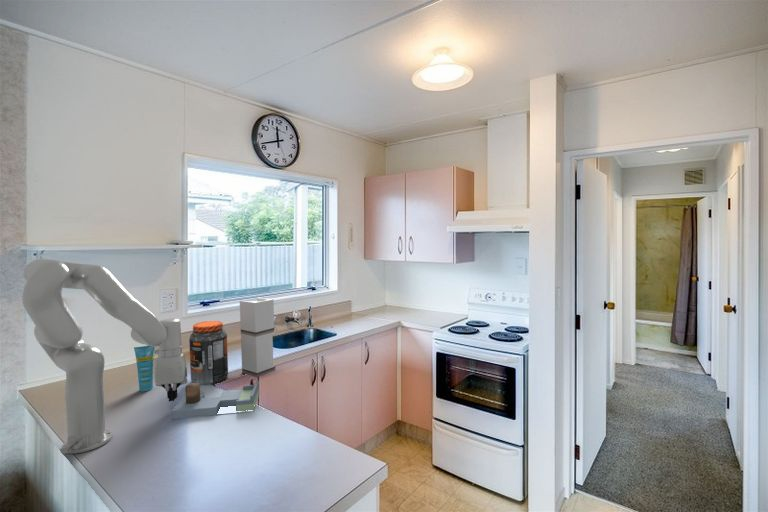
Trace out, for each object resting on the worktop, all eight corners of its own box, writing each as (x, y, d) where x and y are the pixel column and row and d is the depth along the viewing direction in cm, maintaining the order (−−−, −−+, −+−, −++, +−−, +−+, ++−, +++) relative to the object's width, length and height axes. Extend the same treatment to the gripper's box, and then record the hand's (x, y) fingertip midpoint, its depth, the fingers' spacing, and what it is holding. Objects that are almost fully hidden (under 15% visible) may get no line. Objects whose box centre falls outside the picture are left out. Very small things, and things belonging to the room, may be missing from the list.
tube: (136, 393, 159) (133, 348, 158) (136, 389, 163) (133, 345, 162) (156, 389, 163) (154, 345, 162) (156, 385, 167) (154, 342, 166)
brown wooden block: (198, 403, 142) (197, 387, 142) (184, 404, 141) (183, 388, 141) (202, 397, 147) (201, 382, 146) (188, 398, 146) (187, 383, 146)
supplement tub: (187, 378, 175) (184, 323, 174) (222, 370, 185) (220, 318, 184) (196, 388, 163) (193, 329, 162) (233, 379, 173) (231, 323, 172)
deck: (253, 411, 141) (252, 395, 140) (172, 419, 136) (171, 402, 135) (259, 395, 156) (258, 380, 155) (186, 401, 150) (185, 386, 150)
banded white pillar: (275, 370, 184) (273, 299, 182) (257, 377, 175) (254, 302, 173) (260, 366, 190) (258, 297, 188) (242, 372, 182) (239, 300, 180)
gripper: (144, 356, 136) (146, 406, 137) (188, 353, 139) (190, 402, 140) (152, 350, 144) (155, 397, 145) (194, 347, 147) (196, 393, 148)
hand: (172, 399), depth 142 cm, fingers closed
